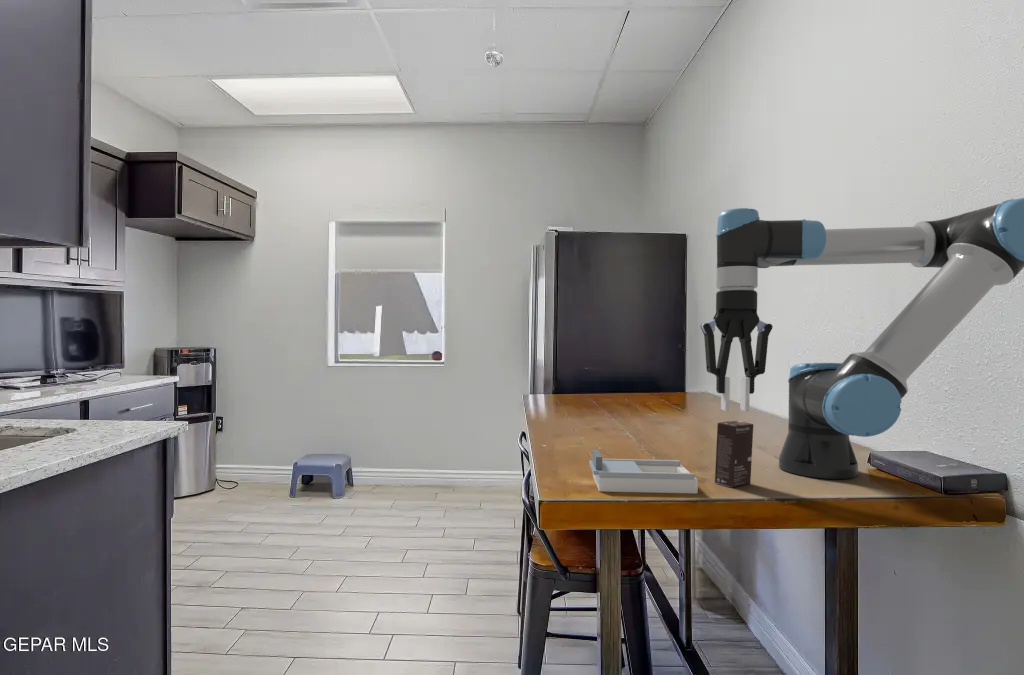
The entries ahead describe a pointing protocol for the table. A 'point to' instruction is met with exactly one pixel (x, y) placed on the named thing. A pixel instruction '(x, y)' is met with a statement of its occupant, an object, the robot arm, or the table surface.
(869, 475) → the table surface
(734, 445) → the box
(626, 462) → the panel
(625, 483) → the socket plate
